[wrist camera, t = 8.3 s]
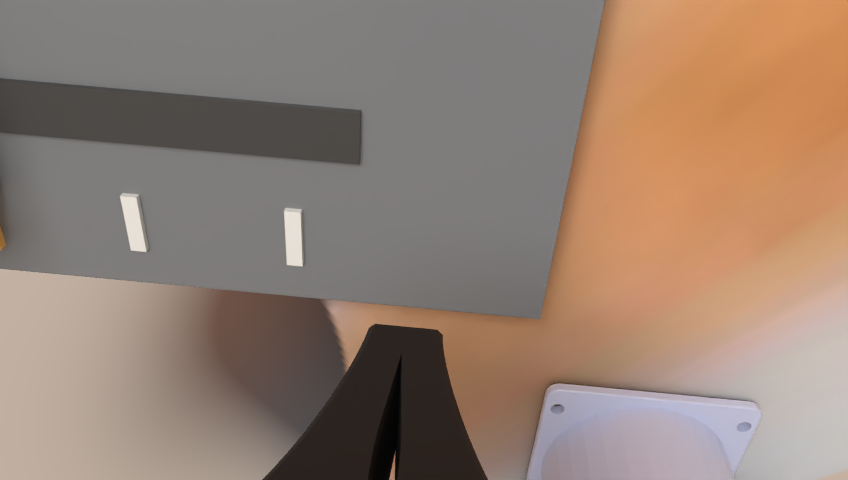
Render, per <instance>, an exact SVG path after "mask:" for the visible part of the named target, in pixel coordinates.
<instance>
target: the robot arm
mask: <svg viewBox="0 0 848 480" xmlns="http://www.w3.org/2000/svg"><path fill="white" fill-rule="evenodd" d="M555 404H560V406H553V405H555ZM761 418H762V413H761V411H760V409H759V406H758V405H757V404H756V403H754V402H750V401H739V400H729V399H718V398H708V397H697V396H687V395H676V394H666V393H655V392H645V391H634V390H624V389H614V388H603V387H593V386H582V385H572V384H561V383H560V384H554V385H551V386H550V387H548V388H547V390H546V392H545V397H544V401H543V405H542V410H541V414H540V419H539V423H538V428H537V432H536V436H535V441H534V445H533V450H532V454H531V459H530V463H529V467H528V472H527V476H526V480H735V478H734V474H735V472H736V470H737V468H738V466H739V464H740V462H741V460H742V458H743V456H744V454H745V451H746V449H747V447H748V445H749V443H750V441H751V439H752V437H753V435H754V433H755V431H756V429H757V426H758V424H759V422H760V420H761ZM743 422H745V423H743ZM740 423H743V424H740ZM395 450H396V453H395ZM394 454H395V480H488V479H487V477H486V475H485V473H484V471H483V469H482V467H481V465H480V462H479V460H478V458H477V456H476V453H475V451H474V449H473V446H472V444H471V441H470V439H469V436H468V434H467V431H466V429H465V426H464V423H463V421H462V418H461V415H460V412H459V409H458V406H457V403H456V400H455V397H454V394H453V390H452V387H451V383H450V379H449V375H448V371H447V367H446V362H445V357H444V350H443V335H442V334H441V333H440V332H439V331H438V330H433V329H423V328H412V327H402V326H391V325H380V324H374V325H373V326H371V327H370V328H369V329H368V332H367V334H366V337H365V339H364V341H363V343H362V345H361V347H360V349H359V351H358V353H357V355H356V357H355V359H354V360H353V362H352V364H351V366H350V367H349V369H348V371H347V372H346V374H345V376H344V377H343V379H342V380H341V382H340V383H339V385H338V386H337V388H336V389H335V391H334V392H333V394H332V396H331V397H330V399H329V400H328V401H327V403H326V405H325V406H324V407H323V408H322V410H321V411H320V412H319V414H318V415H317V416H316V418H315V419H314V420H313V422H312V423H311V424H310V426H309V427H308V428H307V430H306V431H305V432H304V434H303V435H302V436H301V437H300V438H299V440H298V441H297V442H296V443H295V444H294V446H293V447H292V448H291V449H290V450H289V451H288V453H287V454H286V455H285V456H284V457H283V458H282V459H281V460H280V462H279V463H278V464H277V465H276V466H275V467H274V468H273V469H272V470H271V471H270V472H269V474H268V475H266V476H265V478H264V479H263V480H389V477H390V473H391V468H392V464H393V459H394Z"/></svg>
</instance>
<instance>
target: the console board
mask: <svg viewBox="0 0 848 480" xmlns="http://www.w3.org/2000/svg"><path fill="white" fill-rule="evenodd" d="M604 2H605V0H0V269H10V270H20V271H31V272H42V273H52V274H63V275H74V276H85V277H95V278H106V279H116V280H127V281H137V282H148V283H159V284H169V285H181V286H191V287H202V288H212V289H223V290H234V291H244V292H256V293H265V294H276V295H287V296H298V297H308V298H319V299H329V300H340V301H351V302H361V303H372V304H383V305H393V306H404V307H415V308H425V309H436V310H447V311H457V312H468V313H479V314H489V315H500V316H511V317H521V318H532V319H540V317H541V312H542V307H543V302H544V297H545V292H546V287H547V282H548V277H549V272H550V268H551V263H552V258H553V253H554V248H555V243H556V238H557V233H558V228H559V223H560V218H561V214H562V209H563V204H564V199H565V194H566V189H567V184H568V179H569V174H570V169H571V164H572V159H573V155H574V150H575V145H576V140H577V135H578V130H579V125H580V120H581V115H582V110H583V105H584V101H585V96H586V91H587V86H588V81H589V76H590V71H591V66H592V61H593V56H594V51H595V46H596V42H597V37H598V32H599V27H600V22H601V17H602V12H603V7H604Z"/></svg>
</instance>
